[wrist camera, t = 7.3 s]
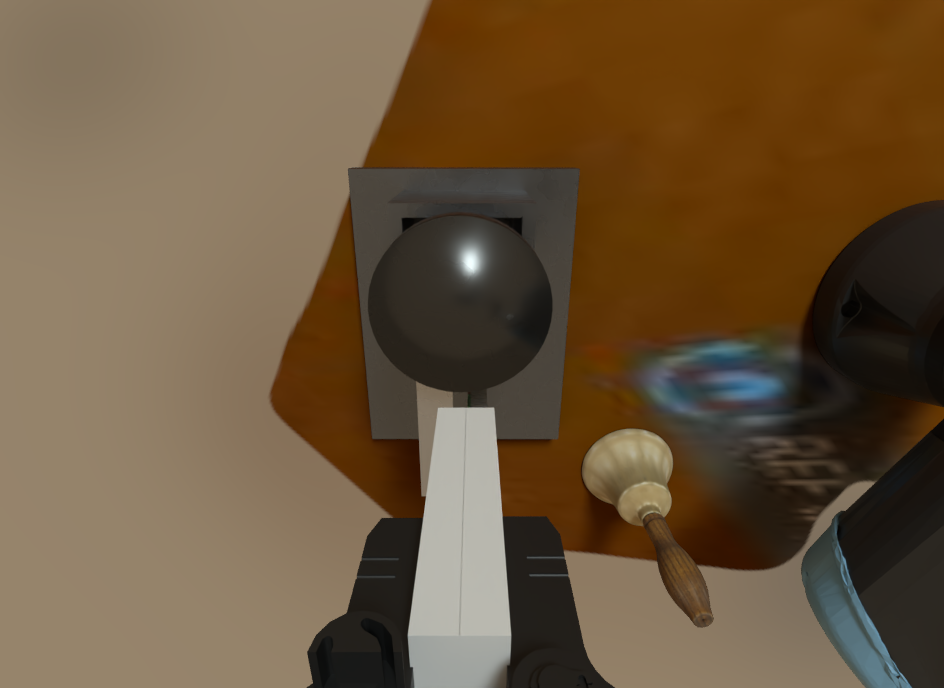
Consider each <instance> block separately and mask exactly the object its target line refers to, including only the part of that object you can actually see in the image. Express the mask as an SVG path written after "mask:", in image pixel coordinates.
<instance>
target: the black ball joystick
mask: <svg viewBox="0 0 944 688" xmlns="http://www.w3.org/2000/svg"><path fill="white" fill-rule="evenodd" d="M552 311H553V299H552V292H551V286H550V283H549V279H548V276H547V274H546V272H545V269H544V267H543V265H542V263H541V261H540V259H539V258H538V256H537V254H536V253H535V251H534V250H533V248H532V247H531V246H530V245H529V243H528V242H527V241H526V240H525V239H524V238H523V237H522V236H521V235H520V234H519V233H518V232H517V231H515V230H514V229H512V228H511V227H509V226H508V225H506V224H505V223H503V222H501V221H499V220H497V219H494V218H491V217H488V216H486V215H481V214H477V213H470V212H450V213H444V214H439V215H435V216H432V217H429V218H426V219H424V220H422V221H420V222H418V223H416V224H414V225H412V226H411V227H410V228H408V229H407V230H405V231H404V232H403V233H402V234H401V235H400V236H399V237H397V238H396V239H395V241H394V242H393V243H392V244H391V245H390V247H389V248H388V249H387V251H386V252H385V253H384V255H383V256H382V258H381V259H380V261H379V263H378V264H377V266H376V269H375V271H374V273H373V276H372V279H371V283H370V287H369V293H368V314H369V321H370V325H371V328H372V332H373V334H374V337H375V339H376V341H377V343H378V345H379V347H380V348H381V350H382V351H383V353H384V354H385V356H386V357H387V358H388V359H389V360H390V362H391V363H392V364H393V365H394V366H395V367H396V368H397V369H399V370H400V371H401V372H402V373H404V374H405V375H406V376H408V377H409V378H411V379H413V380H415V381H416V388H417V409H418V430H419V451H420V472H421V492H422V496H426V495H427V487H428V480H429V472H430V465H431V457H432V450H433V442H434V435H435V427H436V420H437V412H438V408H453V392H474V391H480V390H484V389H488V388H491V387H494V386H497V385H499V384H501V383H504V382H505V381H507V380H509V379H511V378H512V377H514V376H515V375H517V374H518V373H519V372H521V371H522V370H523V369H524V368H525V367H526V366H527V365H528V364H529V363H530V362H531V361H532V360H533V359H534V357H535V356H536V355H537V353H538V352H539V350H540V349H541V347H542V345H543V344H544V341H545V339H546V337H547V334H548V331H549V328H550V324H551V319H552Z"/></svg>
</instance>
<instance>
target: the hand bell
mask: <svg viewBox="0 0 944 688" xmlns="http://www.w3.org/2000/svg"><path fill="white" fill-rule="evenodd" d="M672 467H673V457H672V453H671V451H670V448H669V447H668V445H667V444H666V443H665V442H664V440H663V439H661V438H660V437H659V436H657V435H656V434H654V433H652V432H649V431H646V430H642V429H623V430H618V431H615V432H612V433H610V434H608V435H606V436H604V437H602V438H601V439H599V440H598V441H597V442H596V443H595V444H594V445H593V446H592V447H591V448H590V449H589V451H588V452H587V454H586V455H585V458H584V461H583V465H582V477H583V481H584V483H585V485H586V487H587V488H588V490H589V491H590V492H591V493H592V494H593V495H595V496H596V497H597V498H599V499H600V500H602V501H604V502H607V503H610V504H614V506H615V507H616V509H617V511H618V512H619V514H620V516H621V517H622V518H623V519H624V520H625V521H627V522H628V523H630V524H633V525H637V526H644V528H645V529H646V530H647V533H648V535H649V537H650V538H651V540H652V542H653V544H654V546H655V548H656V552H657V562H658V567H659V571H660V575H661V578H662V580H663V583H664V585H665V587H666V589H667V591H668V593H669V595H670V596H671V597H672V599H673V600H674V601H675V603H676V604H677V605H678V606H679V607H680V608H681V609H682V610H683V611H684V613H685V614H686V615H687V616H688V617H689V618H690V619H691V621H692V622H693V623H694V625H696V626H697V627H706V626H709V625H710V624H711V623H712V622H713V615H712V612H711V608H710V601H709V595H708V589H707V586H706V583H705V581H704V578H703V576H702V574H701V572H700V570H699V569H698V567H697V565H696V564H695V562H694V561H693V560H692V558H691V557H690V556H689V555H688V553H687V552H686V551H685V550H684V549H682V548H681V547H680V546H679V545H678V544H677V543H676V541H675V540H674V538H673V536H672V534H671V532H670V530H669V528H668V525H667V524H666V521H665V519H664V517H665V516H666V515H667V513H668V512H669V510H670V507H671V495H670V492H669V490H668V487H667V482H668V480H669V478H670V476H671V472H672Z"/></svg>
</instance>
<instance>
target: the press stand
mask: <svg viewBox="0 0 944 688" xmlns="http://www.w3.org/2000/svg"><path fill="white" fill-rule="evenodd" d="M348 175H349V185H350V186H349V187H350V198H351V209H352V220H353V231H354V242H355V253H356V264H357V275H358V286H359V297H360V308H361V319H362V330H363V341H364V352H365V363H366V375H367V386H368V397H369V408H370V419H371V430H372V439H419V430H418V409H417V388H416V381H415V380H413V379H411V378H409V377H408V376H406V375H405V374H404V373H402V372H401V371H400V370H399V369H397V368H396V367H395V366H394V365H393V364H392V363H391V362H390V360H389V359H388V358H387V357H386V356H385V354H384V353H383V351H382V350H381V348H380V347H379V345H378V343H377V341H376V339H375V337H374V334H373V332H372V328H371V325H370V321H369V314H368V293H369V287H370V283H371V279H372V276H373V273H374V271H375V269H376V266H377V264H378V263H379V261H380V259H381V258H382V256H383V255H384V253H385V252H386V251H387V249H388V248H389V247H390V245H391V244H392V243H393V242H394V241H395V239H396V238H397V237H399V236H400V235H401V234H402V233H403V232H404V231H405V230H407V229H408V228H410V227H411V226H412V225H414V224H416V223H418V222H420V221H422V220H424V219H426V218H429V217H432V216H435V215H439V214H444V213H450V212H470V213H477V214H481V215H486V216H488V217H491V218H494V219H497V220H499V221H501V222H503V223H505V224H506V225H508V226H509V227H511V228H512V229H514V230H515V231H517V232H518V233H519V234H520V235H521V236H522V237H523V238H524V239H525V240H526V241H527V242H528V243H529V245H530V246H531V247H532V248H533V250H534V251H535V253H536V254H537V256H538V258H539V259H540V261H541V263H542V265H543V267H544V269H545V272H546V274H547V276H548V279H549V283H550V286H551V292H552V299H553V311H552V319H551V324H550V328H549V331H548V334H547V337H546V339H545V341H544V344H543V345H542V347H541V349H540V350H539V352H538V353H537V355H536V356H535V357H534V359H533V360H532V361H531V362H530V363H529V364H528V365H527V366H526V367H525V368H524V369H523V370H522V371H521V372H519V373H518V374H517V375H515V376H514V377H512V378H511V379H509V380H507V381H505V382H504V383H501V384H499V385H497V386H494V387H491V388H488V389H484V390H480V391H474V392H453V408H494V411H495V425H496V438H497V439H558V432H559V420H560V407H561V395H562V382H563V370H564V357H565V345H566V332H567V320H568V307H569V295H570V282H571V270H572V257H573V245H574V232H575V220H576V207H577V194H578V182H579V169H578V168H349V169H348Z"/></svg>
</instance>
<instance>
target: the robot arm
mask: <svg viewBox="0 0 944 688" xmlns="http://www.w3.org/2000/svg"><path fill="white" fill-rule="evenodd" d="M813 331H814V337H815V341H816V344H817V346H818V349H819V351H820V353H821V354H822V356H823V357H824V359H825V360H826V361H827V362H828V364H829V365H831V366H832V367H833V368H834V369H835V370H836V371H838V372H839V373H841V374H842V375H844V376H846V377H847V378H849V379H850V380H852V381H853V382H855V383H857V384H858V385H860V386H862V387H865V388H867V389H870V390H872V391H875V392H878V393H882V394H887V395H892V396H896V397H900V398H905V399H909V400H914V401H918V402H923V403H928V404H932V405H937V406H941V407H944V200H938V201H930V202H924V203H920V204H916V205H912V206H909V207H907V208H904V209H901V210H899V211H897V212H894V213H892V214H890V215H888V216H886V217H885V218H883V219H881V220H879V221H878V222H876V223H875V224H873V225H872V226H870V227H869V228H867V229H866V230H865V231H864V232H862V233H861V234H860V235H859V236H857V237H856V238H855V239H854V240H853V241H852V242H851V243H850V244H849V245H848V246H847V247H846V248H845V249H844V250H843V252H842V253H841V254H840V255H839V256H838V258H837V259H836V260H835V262H834V263H833V265H832V266H831V267H830V269H829V271H828V272H827V274H826V276H825V278H824V280H823V282H822V284H821V286H820V289H819V292H818V294H817V298H816V301H815V306H814V312H813ZM801 574H802V581H803V584H804V587H805V592H806V595H807V599H808V601H809V604H810V606H811V608H812V610H813V612H814V614H815V616H816V618H817V620H818V622H819V624H820V625H821V627H822V629H823V630H824V632H825V634H826V635H827V637H828V638H829V640H830V642H831V643H832V644H833V646H834V647H835V649H836V650H837V652H838V653H839V654H840V656H841V657H842V659H843V660H844V661H845V663H846V664H847V665H848V667H849V668H850V669H851V670H852V672H853V673H854V674H855V675H856V677H857V678H858V679H859V680H860V682H861V683H862V684H863V685H864V686H865V687H866V688H944V419H943V420H942V421H941V422H940V423H939V424H938V425H937V426H936V427H935V428H934V429H933V430H931V431H930V432H929V433H928V434H927V435H926V436H925V437H924V438H923V439H922V440H921V441H919V442H918V443H917V444H916V445H915V446H914V447H913V448H912V449H911V450H910V451H909V452H908V453H907V454H906V455H905V456H903V457H902V458H901V459H900V460H899V461H898V462H897V463H896V464H895V465H894V466H893V467H892V468H891V469H890V470H889V471H888V472H886V473H885V474H884V475H883V476H882V477H881V478H880V479H879V480H878V481H877V482H876V483H875V484H874V485H873V486H872V487H871V488H869V489H868V490H867V491H866V492H865V493H864V494H863V495H862V496H861V497H860V498H859V499H858V500H857V501H856V502H855V503H854V504H852V505H851V506H850V507H849V508H848V509H847V510H846V511H840V512H839V513H838V514H836V515H835V517H834V518H833V519H832V523H831V526H830V527H829V528H828V529H827V530H826V531H825V532H824V533H823V534H822V535H821V537H819V539H818V540H817V541H816V542H815V543H814V544H813V545H812V546H811V547H810V548H809V549H808V551H807V552H806V554H805V556H804V558H803V562H802V568H801ZM307 653H308V659H309V664H310V669H311V674H312V680H313V684H311V685H310V686H308V687H307V688H615V687H613V686H612V685H610V684H609V683H608V682H606V681H605V680H604V679H603V678H602V677H601V675H600V674H599V673H598V672H597V671H596V670H595V668H594V667H593V665H592V664H591V662H590V660H589V659H588V656H587V653H586V650H585V648H584V644H583V639H582V635H581V630H580V625H579V621H578V616H577V612H576V607H575V602H574V597H573V593H572V588H571V584H570V579H569V577H568V570H567V565H566V560H565V558H564V551H563V546H562V542H561V537H560V534H559V533H558V531H557V530H556V529H555V527H554V526H553V525H552V523H551V522H550V521H549V519H548V518H547V517H502V506H501V492H500V479H499V465H498V452H497V438H496V425H495V411H494V408H438V412H437V420H436V427H435V435H434V442H433V450H432V457H431V465H430V472H429V480H428V487H427V495H426V502H425V510H424V517H423V518H382V519H381V520H380V521H379V522H378V524H377V525H376V526H375V527H374V529H373V530H372V531H371V532H370V533H369V535H368V536H367V539H366V543H365V547H364V551H363V554H362V561H361V562H360V566H359V569H358V573H357V579H356V581H355V584H354V588H353V592H352V596H351V599H350V603H349V607H348V611H347V613H346V614H344V615H343V616H341V617H339V618H337V619H335V620H333V621H331V622H329V623H328V624H327V626H325V627H324V628H323V629H322V630H321V631H320V632H319V633H318V634H317V635H316V636H315V638H314V640H313V642H312V644H311V646H310V648H309V650H308V652H307Z"/></svg>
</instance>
